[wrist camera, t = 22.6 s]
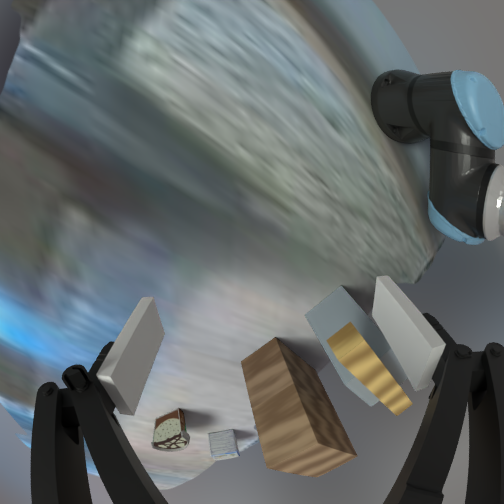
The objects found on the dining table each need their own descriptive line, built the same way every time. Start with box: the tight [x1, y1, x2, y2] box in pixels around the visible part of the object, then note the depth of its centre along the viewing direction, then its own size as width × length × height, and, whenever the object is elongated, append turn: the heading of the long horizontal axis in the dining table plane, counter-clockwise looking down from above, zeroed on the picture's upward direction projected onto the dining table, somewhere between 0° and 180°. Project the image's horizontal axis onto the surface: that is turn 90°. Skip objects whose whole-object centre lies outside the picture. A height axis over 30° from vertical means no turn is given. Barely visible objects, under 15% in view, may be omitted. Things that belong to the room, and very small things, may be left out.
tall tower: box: [241, 337, 357, 477], centre depth 51 cm, size 18×10×28 cm, turn 39°
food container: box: [151, 408, 190, 452], centre depth 62 cm, size 12×6×10 cm, turn 124°
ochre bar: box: [326, 321, 412, 416], centre depth 39 cm, size 30×4×4 cm, turn 39°
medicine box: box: [208, 429, 240, 461], centre depth 69 cm, size 8×4×9 cm, turn 101°
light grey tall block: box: [305, 286, 408, 406], centre depth 51 cm, size 14×10×20 cm
